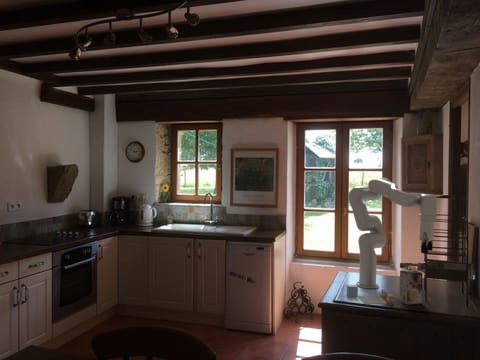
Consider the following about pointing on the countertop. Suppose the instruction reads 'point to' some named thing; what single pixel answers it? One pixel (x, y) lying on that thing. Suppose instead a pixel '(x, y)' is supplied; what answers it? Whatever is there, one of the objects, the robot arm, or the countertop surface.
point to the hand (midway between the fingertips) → (426, 251)
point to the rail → (387, 296)
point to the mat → (372, 299)
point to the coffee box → (411, 287)
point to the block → (352, 291)
